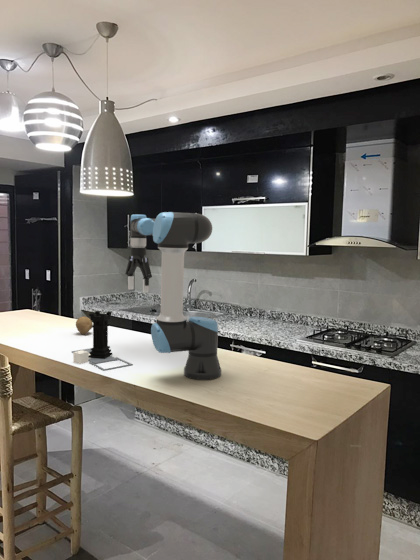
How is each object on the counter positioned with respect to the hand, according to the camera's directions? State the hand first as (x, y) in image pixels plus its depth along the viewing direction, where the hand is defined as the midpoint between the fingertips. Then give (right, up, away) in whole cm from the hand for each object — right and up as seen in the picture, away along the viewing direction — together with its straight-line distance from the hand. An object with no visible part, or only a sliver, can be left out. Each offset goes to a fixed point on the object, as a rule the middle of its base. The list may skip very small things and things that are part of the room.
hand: (138, 290), depth 218 cm
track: (-18, -30, -12) cm, 37 cm away
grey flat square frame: (-8, -31, -24) cm, 40 cm away
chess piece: (-15, -30, -13) cm, 36 cm away
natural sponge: (-35, -25, +32) cm, 54 cm away
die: (-22, -31, -21) cm, 43 cm away
